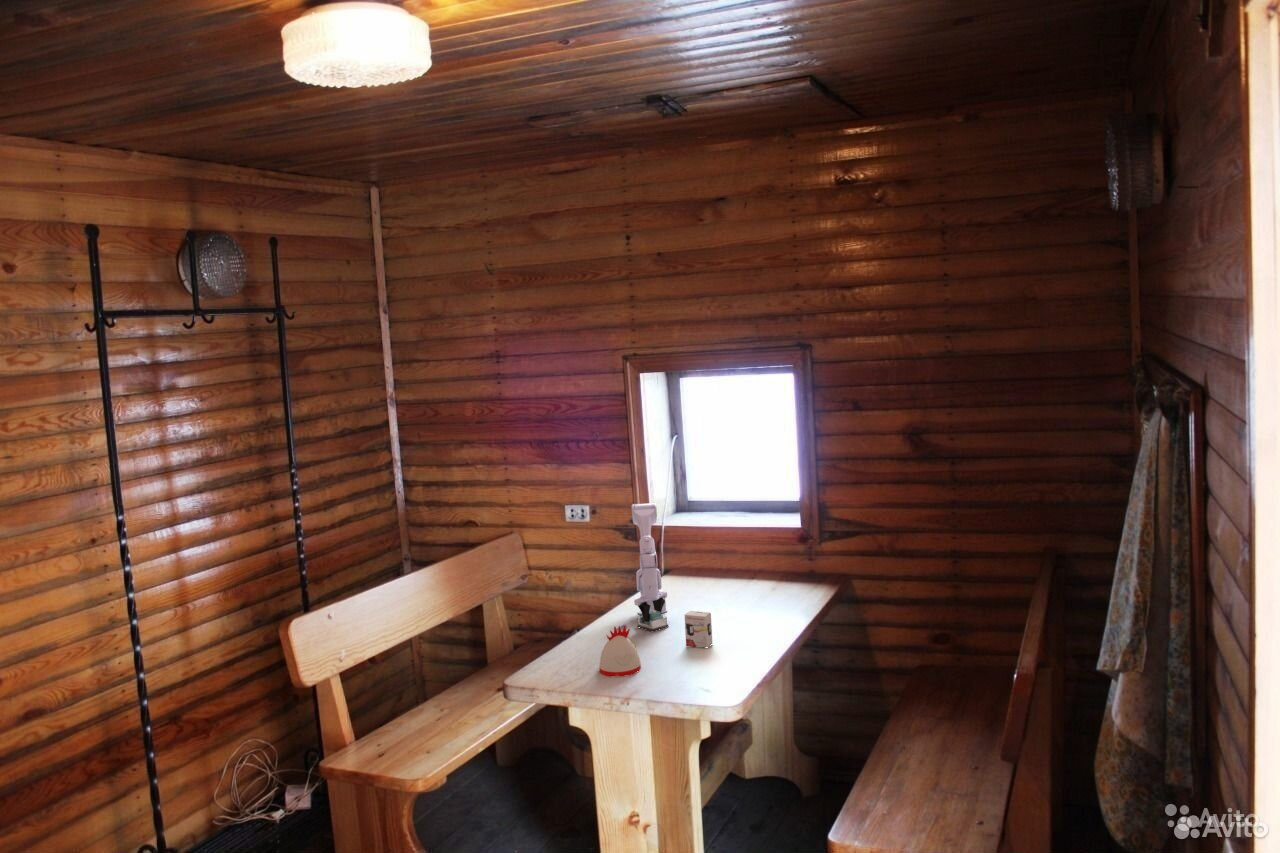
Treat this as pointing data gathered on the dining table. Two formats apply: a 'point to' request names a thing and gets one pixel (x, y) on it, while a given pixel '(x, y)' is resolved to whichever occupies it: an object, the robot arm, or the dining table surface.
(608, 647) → the chicken hat
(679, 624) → the dining table surface
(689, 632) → the ink box
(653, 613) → the block
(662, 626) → the plate
